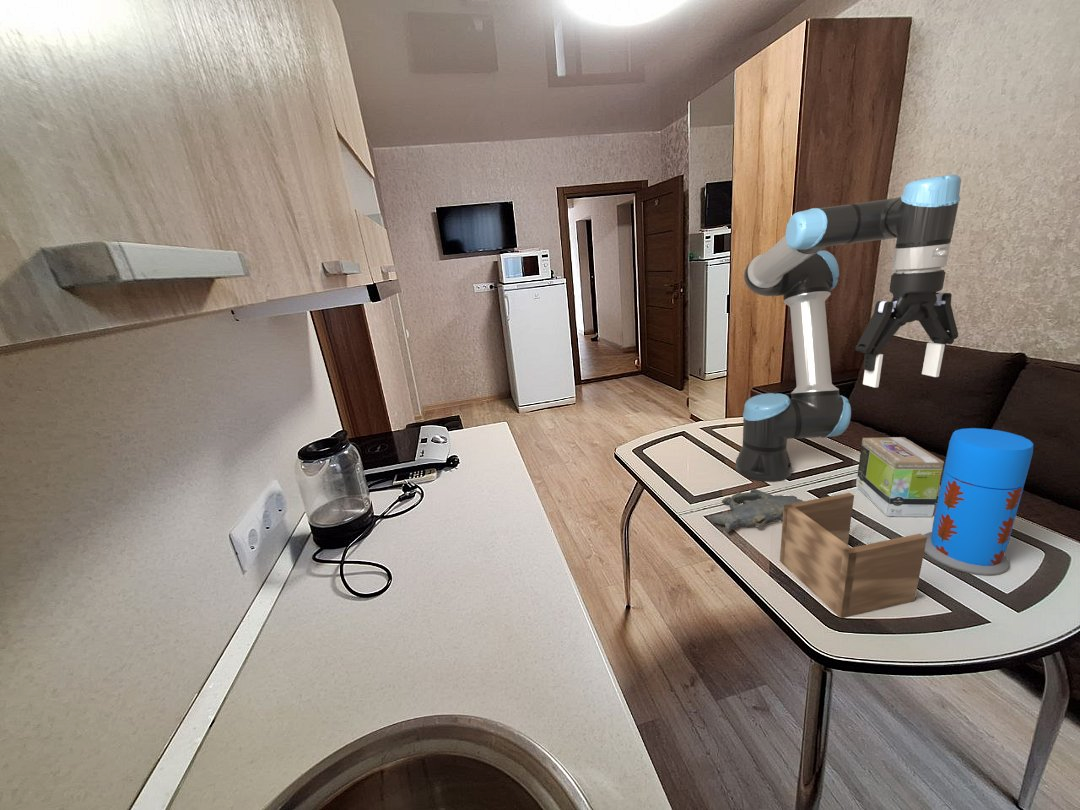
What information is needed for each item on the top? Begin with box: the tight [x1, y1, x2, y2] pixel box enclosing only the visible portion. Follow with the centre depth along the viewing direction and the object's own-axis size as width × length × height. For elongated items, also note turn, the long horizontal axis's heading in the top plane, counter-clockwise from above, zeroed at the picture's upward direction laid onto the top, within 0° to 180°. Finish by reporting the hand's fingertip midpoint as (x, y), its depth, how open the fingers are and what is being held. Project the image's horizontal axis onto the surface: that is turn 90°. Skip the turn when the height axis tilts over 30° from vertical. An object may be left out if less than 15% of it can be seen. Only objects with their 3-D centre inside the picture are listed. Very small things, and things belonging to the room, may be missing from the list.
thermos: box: [931, 427, 1034, 566], centre depth 82 cm, size 11×11×25 cm
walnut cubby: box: [779, 492, 927, 619], centre depth 81 cm, size 16×15×14 cm
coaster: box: [923, 531, 1010, 577], centre depth 86 cm, size 13×13×1 cm
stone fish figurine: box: [710, 488, 804, 533], centre depth 107 cm, size 5×25×15 cm
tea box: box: [855, 436, 945, 518], centre depth 104 cm, size 15×10×15 cm, turn 169°
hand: (900, 380), depth 83 cm, fingers open, 13 cm apart
